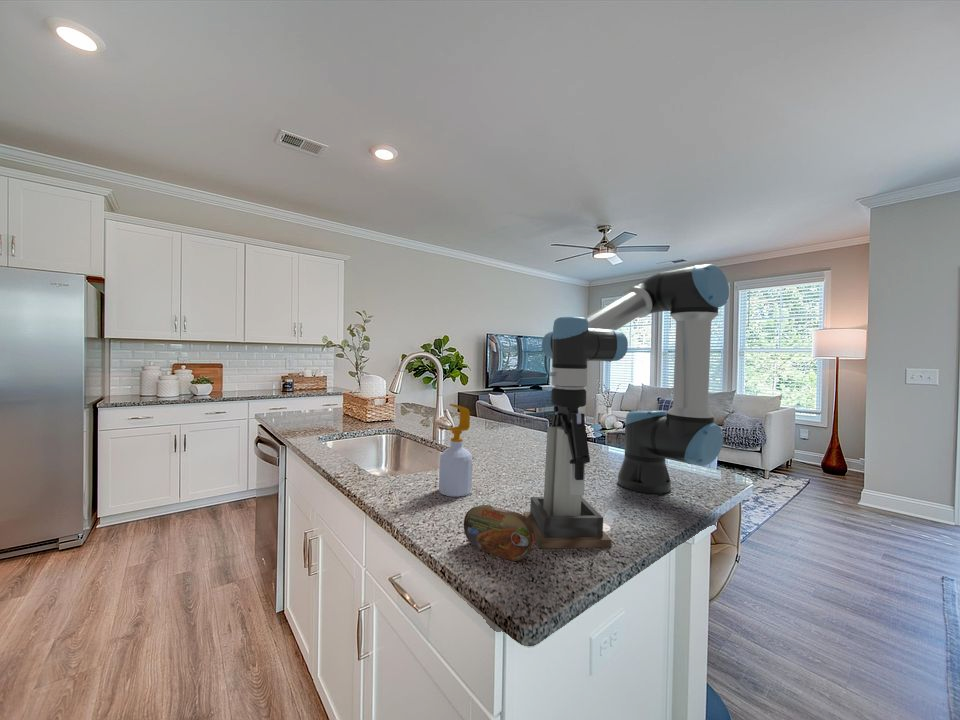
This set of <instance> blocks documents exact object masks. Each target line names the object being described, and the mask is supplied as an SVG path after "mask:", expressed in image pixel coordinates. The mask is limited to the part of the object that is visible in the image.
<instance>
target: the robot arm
mask: <svg viewBox="0 0 960 720" xmlns="http://www.w3.org/2000/svg"><path fill="white" fill-rule="evenodd" d="M729 297H730V288H729V281H728V279H727V276H726V275H725V274H724V271H723V270H722V269H721V268H720V267H718V266H717V265H716V264H714V263H713V264H712V263H707V264H695V265H694V266H693V265H692V266H687V267H682V268H677V269H672V270H667V271H661V272H658V273H656V274H652V275H651V276H650V277H647V278H645V279H643V280H641V281H639V282H638V283H636V284H634V285H633V286H631V287H629V288H628V289H626V290H625V291H624V294H623V295H621V296H620V297H618V298H617V299H615V300H613V301H611V302H610V303H608V304H606V305H604V306H602V307H601V308H598V309H597V310H595V311H594V312H592V313H590V314H589V315H587V316H585V317H583V316H582V317H581V316H561V317H557V318H556V319H555V320H554V321H553V325H552V326H553V327H552V331H549V332H548V333H546V334H544V336H543V338H542V341H541V350H542V353H543V354H544V356H545V357H546V358H548V359H550V360H552V362H551V367H552V368H551V369H552V371H551V372H550V373H549V376H550V377H551V386H553V388H552V389H551V391H550V393H551V395H550V396H551V397H550V400H551V401H550V404H551V405H553V416H552V417H553V418H552V421H551V426H550V427H561V428H563V429H564V432H565V434H567V436H568V441H569V445H570V450H571V455H572V459H571V460H570V464H571V474H570V494H571V495H582V496H585V478H586V477H585V474H586V473H585V472H586V470H585V468H586V464H590V462H591V456H590V451H589V443H588V438H587V431H586V430H587V429H586V415H585V413H579V408H582V407H585V406H586V405H587V390H586V389H585V388H586V387H587V386H588V361H591V362H608V363H609V362H610V363H612V362H617V361H621V359H623V358H624V357H625V355H626V354H627V353H628V349H629V340H628V337H627V336H626V334H624V333H623V332H622V331H620V330H619V329H620V328H623V327H624V326H625V325H627V324H629V323H630V322H632V321H634V320H635V319H638V318H639V319H640V318H645V317H647V316H648V315H650V314H656V313H660V312H670V317H671V318H672V319H673V320H674V321H675V342H674V343H675V344H674V345H675V346H674V363H673V364H674V366H673V367H674V368H673V369H674V370H673V371H674V373H673V391H672V393H673V396H672V407H670V409H668V410H634V411H633V410H632V411H628V412H627V413H626V416H625V417H626V418H625V424H624V459H623V461H622V464H621V467H620V468H619V471H618V473H617V484H618V485H619V486H621V487H623V488H624V489H627V490H631V491H634V492H638V493H645V494H666V493H669V492H671V490H672V481H671V477H670V474H669V471H668V468H667V465H666V458H668V459H672V460H674V461H675V460H676V461H680V462H683V463H686V464H689V465H697V466H702V467H704V466H708V465H710V464H712V463H713V462H714V461H715V460H716V459H717V457H718V456H719V454H720V453H721V450H722V449H723V448H722V447H723V444H724V433H723V429H722V427H721V426H720V425H718V424H717V423H715V415H714V414H713V413H712V412H711V411H710V410H709V392H710V391H709V387H710V363H711V361H710V359H711V337H712V335H711V334H712V321H713V320H715V319H716V317H717V316H718V315H719V308H721V307H724V306H725V305H726V304H727V303H728V300H729ZM580 456H581V457H580Z"/></svg>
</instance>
